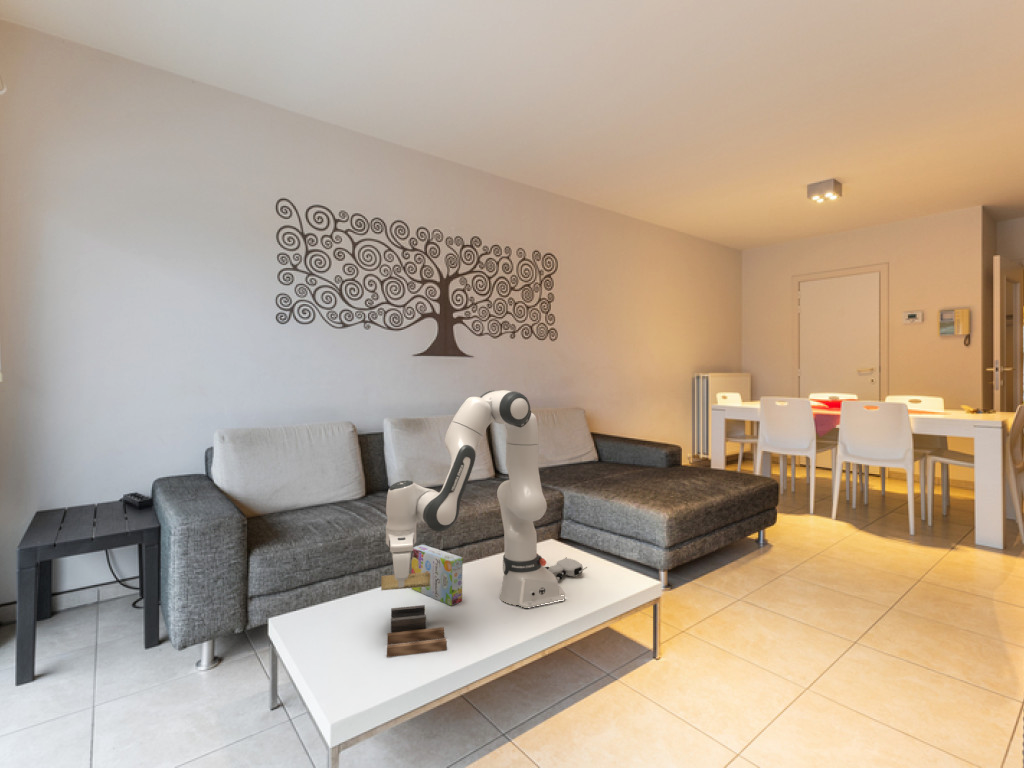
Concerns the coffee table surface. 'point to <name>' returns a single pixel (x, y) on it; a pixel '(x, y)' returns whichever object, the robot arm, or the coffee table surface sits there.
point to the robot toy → (566, 568)
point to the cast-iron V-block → (408, 618)
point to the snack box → (439, 573)
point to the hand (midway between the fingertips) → (401, 582)
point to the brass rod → (406, 581)
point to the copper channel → (416, 646)
